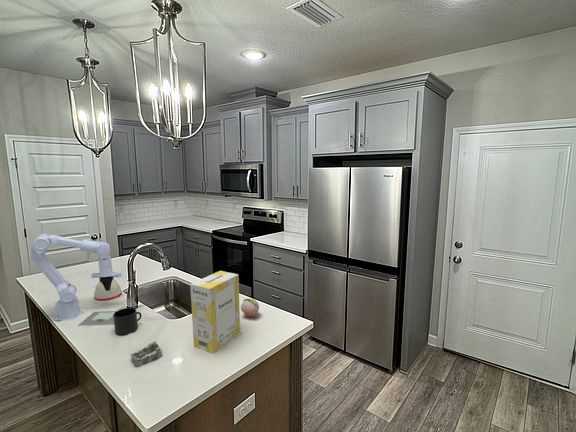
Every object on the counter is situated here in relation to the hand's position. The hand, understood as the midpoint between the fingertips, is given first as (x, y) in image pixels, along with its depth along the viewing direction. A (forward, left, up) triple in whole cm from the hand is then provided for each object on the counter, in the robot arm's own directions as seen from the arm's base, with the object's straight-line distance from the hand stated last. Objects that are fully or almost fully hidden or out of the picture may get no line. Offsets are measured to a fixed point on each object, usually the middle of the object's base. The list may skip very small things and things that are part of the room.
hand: (108, 290), depth 162 cm
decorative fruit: (+76, -13, -11) cm, 78 cm away
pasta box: (+63, -33, -11) cm, 72 cm away
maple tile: (+3, -8, -9) cm, 13 cm away
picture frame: (+3, -11, -10) cm, 15 cm away
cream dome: (-9, +16, -11) cm, 21 cm away
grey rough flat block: (+37, -45, -11) cm, 59 cm away
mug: (+20, -22, -11) cm, 32 cm away
